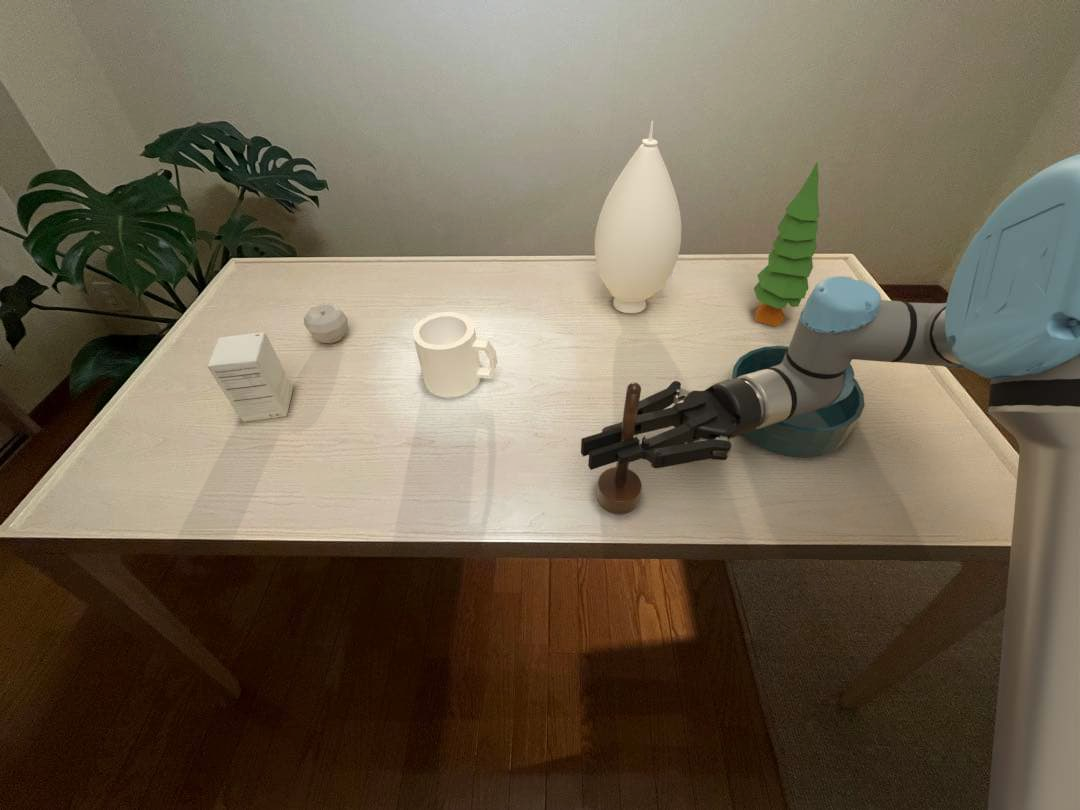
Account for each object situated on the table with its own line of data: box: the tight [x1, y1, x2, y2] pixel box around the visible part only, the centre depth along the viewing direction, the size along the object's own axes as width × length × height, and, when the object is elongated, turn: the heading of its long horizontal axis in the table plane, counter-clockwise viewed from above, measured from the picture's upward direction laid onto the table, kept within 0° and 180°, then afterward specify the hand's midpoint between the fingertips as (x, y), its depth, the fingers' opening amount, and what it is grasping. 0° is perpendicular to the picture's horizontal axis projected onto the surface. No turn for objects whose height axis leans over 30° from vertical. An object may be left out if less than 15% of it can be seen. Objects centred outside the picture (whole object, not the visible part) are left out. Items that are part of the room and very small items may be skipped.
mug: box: [412, 311, 498, 399], centre depth 89 cm, size 14×10×11 cm
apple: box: [303, 303, 349, 344], centre depth 100 cm, size 8×8×7 cm
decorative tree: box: [753, 161, 820, 327], centre depth 93 cm, size 10×9×30 cm
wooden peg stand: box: [596, 381, 642, 515], centre depth 67 cm, size 6×6×22 cm
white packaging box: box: [206, 331, 294, 423], centre depth 85 cm, size 7×7×13 cm
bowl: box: [728, 345, 866, 459], centre depth 84 cm, size 19×20×6 cm
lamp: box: [594, 120, 682, 314], centre depth 96 cm, size 16×16×35 cm
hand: (586, 454), depth 65 cm, fingers closed on wooden peg stand, 2 cm apart
